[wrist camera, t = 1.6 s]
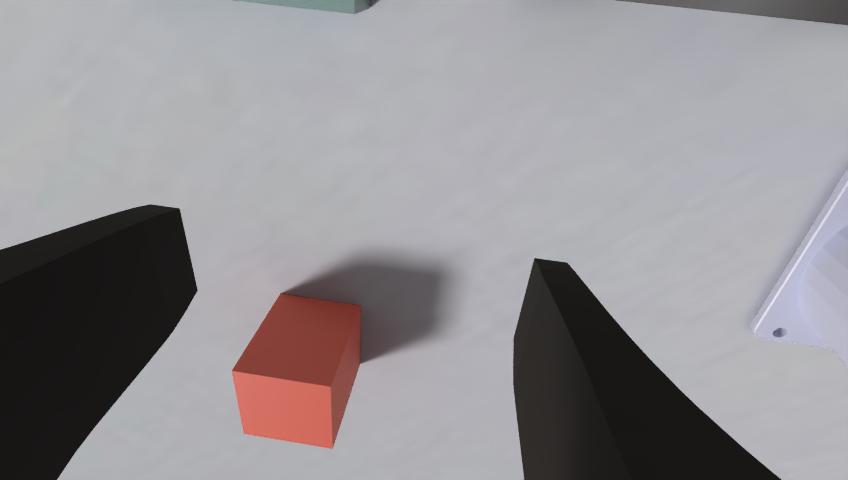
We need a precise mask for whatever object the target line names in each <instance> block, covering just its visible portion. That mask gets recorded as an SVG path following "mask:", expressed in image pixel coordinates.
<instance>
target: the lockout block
mask: <svg viewBox="0 0 848 480" xmlns="http://www.w3.org/2000/svg"><path fill="white" fill-rule="evenodd" d="M360 336H361V306H360V305H354V304H347V303H340V302H334V301H327V300H320V299H314V298H307V297H300V296H294V295H287V294H280V295H279V297H278V299H277V300H276V302H275V303H274V305H273V306H272V308H271V310H270V311H269V313H268V314H267V316H266V318H265V319H264V321H263V322H262V324H261V325H260V327H259V329H258V330H257V332H256V333H255V335H254V337H253V338H252V340H251V341H250V343H249V345H248V346H247V348H246V349H245V351H244V352H243V354H242V356H241V357H240V359H239V360H238V362H237V364H236V365H235V367H234V368H233V370H232V374H233V380H234V385H235V390H236V395H237V400H238V405H239V410H240V416H241V421H242V426H243V431H244V434H249V435H254V436H260V437H266V438H272V439H278V440H284V441H290V442H296V443H302V444H308V445H314V446H319V447H325V448H331V449H333V446H334V443H335V440H336V436H337V433H338V430H339V427H340V424H341V421H342V418H343V415H344V412H345V409H346V405H347V402H348V399H349V396H350V393H351V390H352V387H353V384H354V381H355V378H356V375H357V371H358V368H359V365H360Z"/></svg>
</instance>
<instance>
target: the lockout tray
mask: <svg viewBox="0 0 848 480" xmlns="http://www.w3.org/2000/svg"><path fill="white" fill-rule="evenodd" d="M235 1H244V2H253V3H262V4H270V5H279V6H288V7H297V8H306V9H315V10H324V11H333V12H342V13H351V14H356V13H358V12H361V11H364V10H366V9H369V8H370V0H235Z"/></svg>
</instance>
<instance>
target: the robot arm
mask: <svg viewBox="0 0 848 480" xmlns="http://www.w3.org/2000/svg"><path fill="white" fill-rule="evenodd" d="M197 291H198V290H197V286H196V281H195V277H194V272H193V268H192V263H191V259H190V254H189V250H188V245H187V240H186V236H185V231H184V227H183V222H182V218H181V213H180V209H179V208H172V207H165V206H158V205H145V206H141V207H136V208H132V209H128V210H125V211H121V212H117V213H114V214H111V215H107V216H104V217H101V218H98V219H95V220H92V221H88V222H85V223H82V224H79V225H76V226H73V227H70V228H67V229H64V230H61V231H58V232H55V233H52V234H49V235H45V236H42V237H39V238H36V239H33V240H30V241H27V242H24V243H21V244H18V245H15V246H11V247H8V248H5V249H2V250H0V480H57V479H58V477H59V476H60V474H61V473H62V471H63V470H64V468H65V467H66V465H67V464H68V462H69V461H70V459H71V458H72V456H73V455H74V454H75V452H76V451H77V449H78V448H79V447H80V446H81V444H82V443H83V442H84V440H85V439H86V438H87V436H88V435H89V434H90V432H91V431H92V430H93V429H94V427H95V426H96V425H97V424H98V422H99V421H100V420H101V419H102V418H103V416H104V415H105V414H106V413H107V412H108V410H109V409H110V408H111V407H112V406H113V404H114V403H115V402H116V401H117V399H118V398H119V397H120V396H121V395H122V393H123V392H124V391H125V390H126V389H127V387H128V386H129V385H130V384H131V383H132V381H133V380H134V379H135V378H136V377H137V375H138V374H139V373H140V372H141V370H142V369H143V368H144V367H145V366H146V364H147V363H148V362H149V361H150V359H151V358H152V357H153V356H154V355H155V353H156V352H157V351H158V350H159V348H160V347H161V346H162V345H163V343H164V342H165V341H166V340H167V338H168V337H169V336H170V335H171V333H172V332H173V330H174V329H175V327H176V326H177V324H178V323H179V321H180V319H181V318H182V316H183V315H184V313H185V311H186V310H187V308H188V306H189V304H190V303H191V301H192V299H193V297H194V296H195V294H196V292H197ZM778 328H780V329H779V330H776V329H778ZM750 329H751V331H752V332H753V334H754V335H755V336H756V337H757V338H760V339H766V340H773V341H780V342H787V343H793V344H800V345H807V346H814V347H821V348H827V349H831V350H832V352H833V353H834V354H835V355H836V356H837V357H838V358H839V359H840V361H841V362H842V363H843V364H844V365H845V366H846V367H847V368H848V169H847V170H846V172H845V173H844V175H843V176H842V178H841V180H840V181H839V183H838V184H837V186H836V188H835V189H834V191H833V193H832V194H831V196H830V197H829V199H828V201H827V202H826V204H825V205H824V207H823V209H822V210H821V212H820V213H819V215H818V217H817V218H816V220H815V222H814V223H813V225H812V226H811V228H810V230H809V231H808V233H807V234H806V236H805V238H804V239H803V241H802V242H801V244H800V246H799V247H798V249H797V251H796V252H795V254H794V255H793V257H792V259H791V260H790V262H789V263H788V265H787V267H786V268H785V270H784V271H783V273H782V275H781V276H780V278H779V280H778V281H777V283H776V284H775V286H774V288H773V289H772V291H771V292H770V294H769V296H768V297H767V299H766V300H765V302H764V304H763V305H762V307H761V309H760V310H759V312H758V313H757V315H756V317H755V318H754V320H753V321H752V323H751V326H750ZM775 330H776V331H775ZM513 385H514V395H515V404H516V412H517V421H518V430H519V438H520V446H521V455H522V463H523V472H524V480H781V479H780V478H779V477H777V476H776V475H775V474H774V473H772V472H771V471H770V470H769V469H768V468H766V467H765V466H764V465H763V464H762V463H761V462H759V461H758V460H757V459H756V458H755V457H753V456H752V455H751V454H750V453H749V452H747V451H746V450H745V449H744V448H743V447H742V446H740V445H739V444H738V443H737V442H736V441H735V440H734V439H733V438H732V437H730V436H729V435H728V434H727V433H726V432H725V431H724V430H723V429H722V428H720V427H719V426H718V425H717V424H716V423H715V422H714V421H713V420H712V419H710V418H709V417H708V416H707V415H706V414H705V413H704V412H703V411H702V410H700V409H699V408H698V407H697V406H696V405H695V404H694V403H693V402H692V401H691V400H690V399H689V398H688V397H687V396H686V395H685V394H684V393H683V392H682V391H681V390H680V389H678V387H677V386H676V385H675V384H674V383H673V382H672V381H671V380H670V379H669V378H668V377H667V376H666V375H665V374H664V373H663V372H662V371H661V370H660V369H659V368H658V367H657V366H656V365H655V364H654V363H653V362H652V361H651V360H650V359H649V358H648V357H647V356H646V354H645V353H644V352H643V351H642V350H641V349H640V348H639V347H638V346H637V345H636V344H635V342H634V341H633V340H632V339H631V338H630V337H629V336H628V335H627V334H626V332H625V331H624V330H623V329H622V328H621V327H620V325H619V324H618V323H617V322H616V321H615V320H614V319H613V317H612V316H611V315H610V314H609V313H608V311H607V310H606V309H605V308H604V307H603V305H602V304H601V303H600V302H599V301H598V299H597V298H596V297H595V296H594V295H593V293H592V292H591V291H590V290H589V288H588V287H587V286H586V285H585V283H584V282H583V281H582V280H581V279H580V277H579V276H578V275H577V274H576V272H575V271H574V270H573V269H572V268H571V267H570V265H569V264H568V263H565V262H558V261H551V260H544V259H537V258H535V259H534V262H533V266H532V270H531V274H530V278H529V282H528V285H527V289H526V293H525V297H524V301H523V305H522V308H521V312H520V316H519V320H518V324H517V328H516V331H515V335H514V359H513Z"/></svg>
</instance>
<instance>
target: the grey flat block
mask: <svg viewBox="0 0 848 480" xmlns="http://www.w3.org/2000/svg"><path fill="white" fill-rule="evenodd" d="M618 1H628V2H637V3H646V4H656V5H665V6H674V7H684V8H693V9H702V10H712V11H721V12H731V13H740V14H749V15H759V16H768V17H777V18H787V19H796V20H806V21H815V22H824V23H834V24H843V25H848V0H618Z"/></svg>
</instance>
